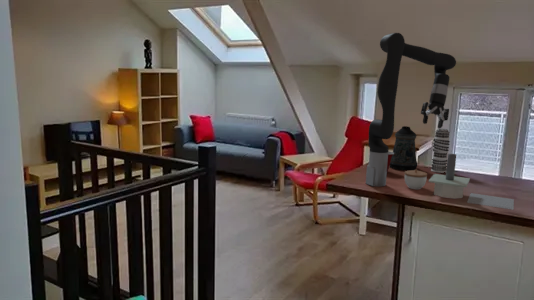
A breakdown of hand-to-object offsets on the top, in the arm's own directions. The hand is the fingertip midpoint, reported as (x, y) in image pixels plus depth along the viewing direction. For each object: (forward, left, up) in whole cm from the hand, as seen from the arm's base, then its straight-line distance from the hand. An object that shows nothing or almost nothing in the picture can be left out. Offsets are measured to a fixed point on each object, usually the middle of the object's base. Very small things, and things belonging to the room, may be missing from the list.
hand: (432, 125), depth 213 cm
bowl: (-3, -18, -31) cm, 36 cm away
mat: (+8, -32, -31) cm, 45 cm away
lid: (-3, -18, -24) cm, 30 cm away
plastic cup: (-2, +33, -31) cm, 46 cm away
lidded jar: (-9, -2, -31) cm, 32 cm away
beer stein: (+16, +39, -31) cm, 53 cm away
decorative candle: (+31, +24, -31) cm, 50 cm away
